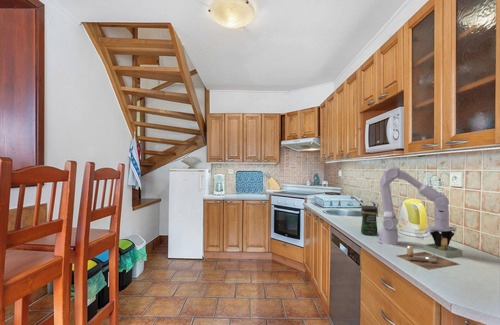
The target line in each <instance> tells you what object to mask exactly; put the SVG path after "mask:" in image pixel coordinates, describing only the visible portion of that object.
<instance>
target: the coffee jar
mask: <svg viewBox="0 0 500 325" xmlns="http://www.w3.org/2000/svg"><path fill="white" fill-rule="evenodd" d="M360 212H361V216H362V218H361V219H362V220H361V230H360V233H361V234H362V235H364V236H365V235H366V236H377V235H379V230H378V224H377V222H378V221H377V217H378V216H377V215H378V207H376V205H375V206H374V205H362V206H361V210H360Z"/></svg>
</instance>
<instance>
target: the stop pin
mask: <svg viewBox="0 0 500 325" xmlns="http://www.w3.org/2000/svg"><path fill="white" fill-rule="evenodd" d="M436 249H438V250H441V251H444V252H447V250H448V248H447V237H443V236H442V238H441V245H440V247H438V246H437V248H436Z"/></svg>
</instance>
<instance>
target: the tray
mask: <svg viewBox="0 0 500 325" xmlns="http://www.w3.org/2000/svg"><path fill="white" fill-rule="evenodd" d="M447 248H448V250H447V251H444V250H439V249H437V246H436V245H435V242H433V243H426V244H422V250H423V251H424V252H427V253H430V254H435V255H436V256H438V257H441V258H444V259H446V258H452V257H463V249H461V248H457V247H455V246H454V247H453V246H451V245H449V246H447Z"/></svg>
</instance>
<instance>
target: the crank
mask: <svg viewBox="0 0 500 325" xmlns="http://www.w3.org/2000/svg"><path fill="white" fill-rule="evenodd" d="M413 253H414V246H413V245H406V254H407V256H408V258H409V259H411V260H423V261H426V262H429V263H436V258H435V257H433V256H428V255H425V256H413Z"/></svg>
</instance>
